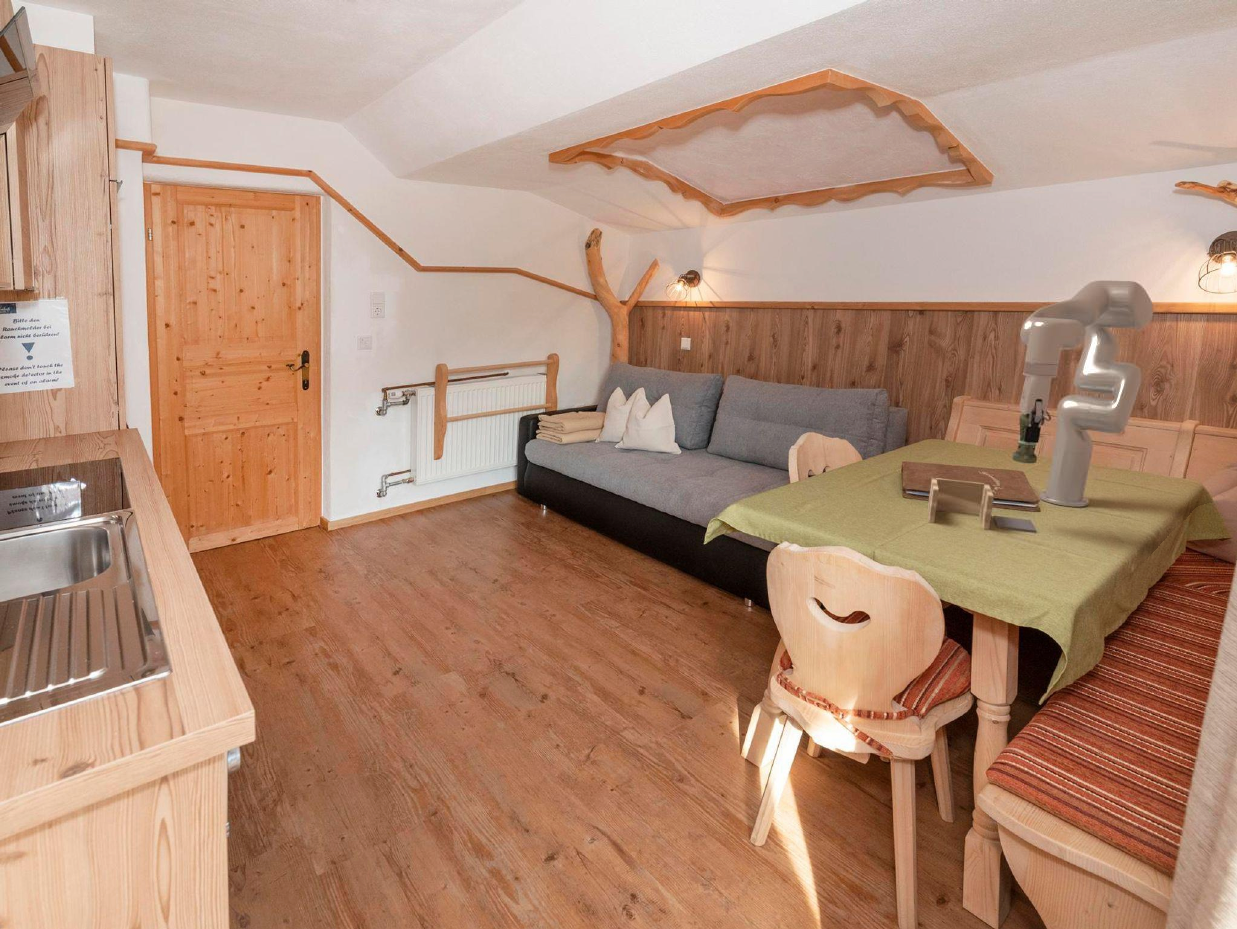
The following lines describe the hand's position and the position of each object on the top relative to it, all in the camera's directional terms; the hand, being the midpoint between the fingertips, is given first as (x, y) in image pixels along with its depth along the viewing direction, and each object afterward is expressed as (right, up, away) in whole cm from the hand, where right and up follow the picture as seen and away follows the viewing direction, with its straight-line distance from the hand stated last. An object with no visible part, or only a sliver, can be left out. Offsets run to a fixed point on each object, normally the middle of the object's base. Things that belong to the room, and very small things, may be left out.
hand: (1028, 438), depth 188 cm
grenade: (0, -6, +2) cm, 6 cm away
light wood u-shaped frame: (-14, -21, +10) cm, 27 cm away
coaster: (-1, -23, +6) cm, 24 cm away
